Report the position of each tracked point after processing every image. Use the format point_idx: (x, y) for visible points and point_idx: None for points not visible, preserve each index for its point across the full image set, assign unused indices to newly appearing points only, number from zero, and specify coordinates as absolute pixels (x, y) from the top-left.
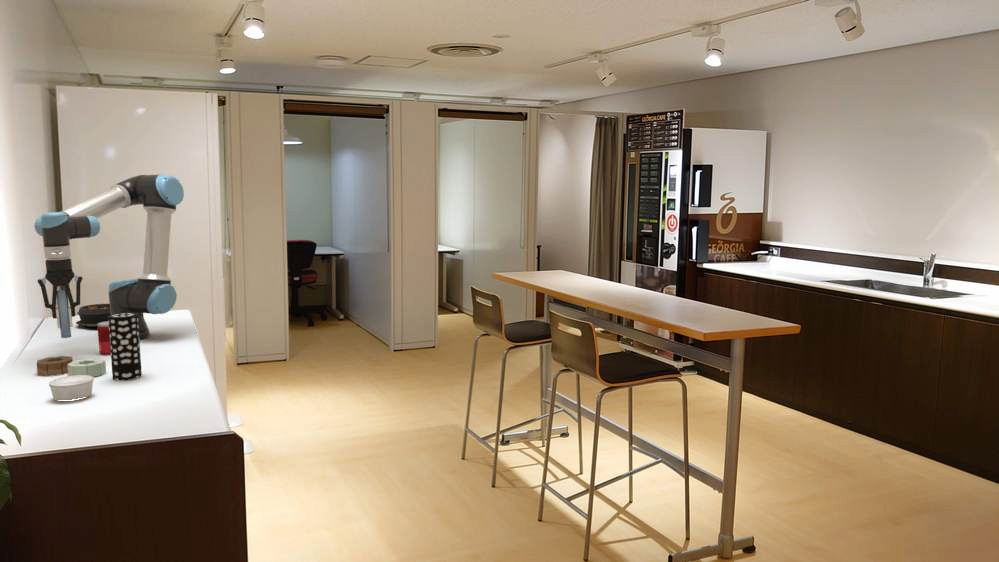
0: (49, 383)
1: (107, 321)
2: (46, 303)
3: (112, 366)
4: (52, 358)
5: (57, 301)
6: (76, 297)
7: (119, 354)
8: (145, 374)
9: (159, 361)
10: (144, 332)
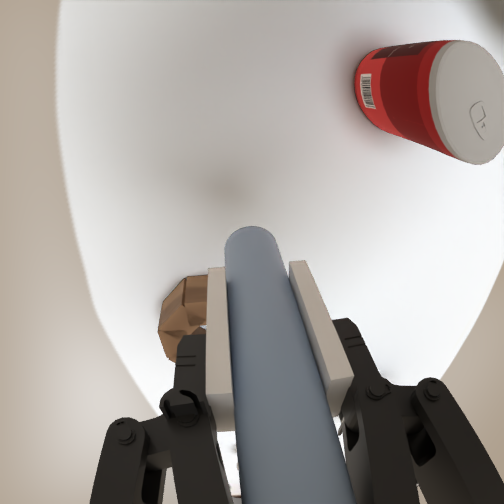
0: (238, 470)
1: (474, 45)
2: (145, 485)
3: (339, 416)
4: (202, 322)
5: (240, 484)
6: (416, 476)
7: None
8: (386, 374)
9: (448, 286)
10: None
